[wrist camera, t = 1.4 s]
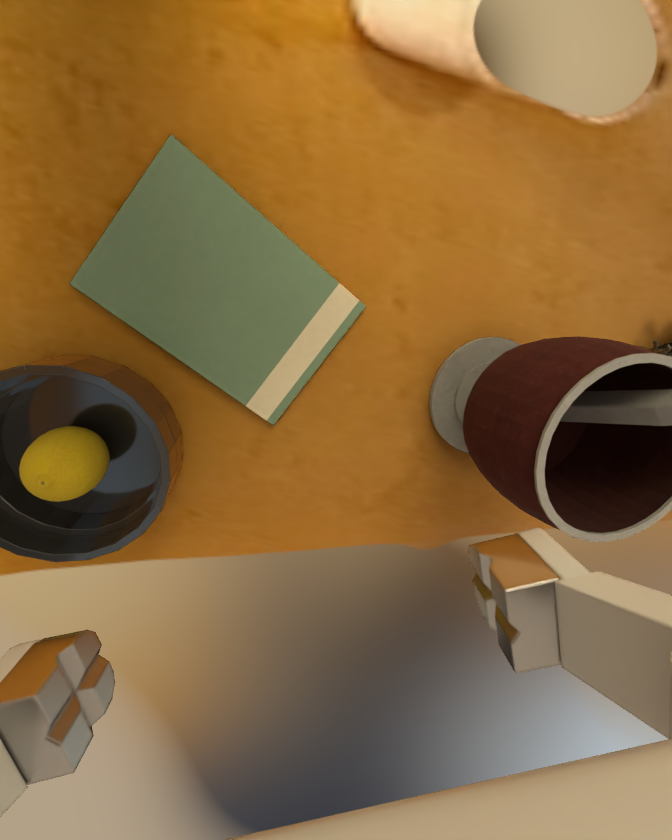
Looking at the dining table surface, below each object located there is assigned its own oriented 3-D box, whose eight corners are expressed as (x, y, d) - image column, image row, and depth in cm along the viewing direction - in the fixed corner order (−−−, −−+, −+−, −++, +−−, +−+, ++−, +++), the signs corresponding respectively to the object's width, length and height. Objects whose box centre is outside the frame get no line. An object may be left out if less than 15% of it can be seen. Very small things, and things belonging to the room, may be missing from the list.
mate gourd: (469, 483, 44) (625, 615, 25) (395, 393, 40) (517, 471, 21) (577, 390, 44) (821, 454, 25) (514, 287, 39) (752, 270, 20)
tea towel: (71, 283, 32) (68, 283, 32) (172, 136, 31) (170, 133, 30) (273, 424, 39) (273, 425, 38) (364, 306, 37) (366, 306, 37)
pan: (-50, 464, 34) (-111, 496, 29) (51, 315, 33) (8, 317, 27) (122, 551, 39) (98, 592, 33) (217, 425, 38) (210, 446, 32)
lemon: (121, 476, 37) (85, 521, 29) (53, 472, 36) (-3, 516, 28) (123, 419, 35) (86, 449, 28) (52, 412, 34) (-6, 442, 27)
